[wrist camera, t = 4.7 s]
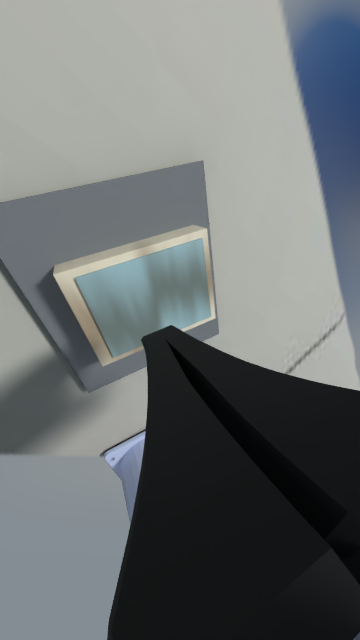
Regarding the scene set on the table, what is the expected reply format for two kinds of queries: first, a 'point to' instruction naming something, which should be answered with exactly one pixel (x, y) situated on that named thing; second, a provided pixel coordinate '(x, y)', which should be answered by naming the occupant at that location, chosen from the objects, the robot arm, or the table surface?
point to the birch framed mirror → (140, 290)
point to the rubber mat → (96, 248)
